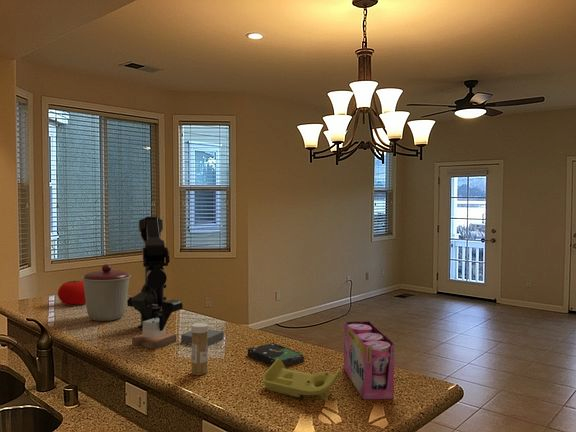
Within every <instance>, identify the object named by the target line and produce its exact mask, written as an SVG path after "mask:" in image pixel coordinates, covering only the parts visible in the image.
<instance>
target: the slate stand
mask: <svg viewBox="0 0 576 432" xmlns="http://www.w3.org/2000/svg"><path fill="white" fill-rule="evenodd" d="M224 332H225V331H222V330H216V329H215V330H214V329H209V328H208V333H207V344H208V347H209V346H212V345H214V344H215V343H217V342H220V341H222V340H224V335H225V334H224ZM180 335H181V336H180V342H181V343H183V342H185V343H184V344H188V343H190V344H189V345H192V332H191V330H190V331H187V332H185V333H183V334H180Z"/></svg>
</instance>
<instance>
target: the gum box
mask: <svg viewBox="0 0 576 432" xmlns="http://www.w3.org/2000/svg"><path fill="white" fill-rule="evenodd" d="M343 325H344V326H343V369H344V371H345V372H346V375H347V376H348V378H349V379H350V381H351V382H352V384H353V385H354V387H355V389H356V390H357V391H358V393H359V395H360V396H361V398H362V399H363V400H394V398H395V397H394V394H395V393H394V392H395V391H394V390H395V343H394V342H393V341H392V340H391V339H390V338H389V337H387V335H385V334H384V333H383V332H382V331H381V330H380V329H378V327H376V326H375V325H374V323H372V322H371V320H370V321H360V320H359V321H344V323H343Z"/></svg>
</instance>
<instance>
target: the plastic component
mask: <svg viewBox="0 0 576 432" xmlns="http://www.w3.org/2000/svg"><path fill="white" fill-rule="evenodd" d="M340 375H341V370H339V369H338V370H336V372H335V373H330V372H328V371H325V372H324V371H318V372H315V373H313V374H312V373H308V372H303V371H298V370H294V369H287V366H286V367H285V366H284V364H283V362H282V361H281V360H280V359H277V360H276V361H275V362H274V363H273V364H272V365H269V368H268V369H267V370H266V371H265V372H264V374H263V375H262V381H263V384H264V386H265V388H266V390H267V391H271V392H275V393H278V394H282V395H283V394H284V395H287V396H291V397H293V398H294V397H295V398H300V397H301V396H302V395H303V396H317V400H318V399H320V400H323V401H324V400H325V399H328V397H330V395H331V391H330V389H331V388H332V386H333V385H334V383H335V382H336V381H337V379H338V378H339V377H340Z"/></svg>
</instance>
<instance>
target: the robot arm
mask: <svg viewBox="0 0 576 432" xmlns="http://www.w3.org/2000/svg"><path fill="white" fill-rule="evenodd" d="M163 225H164V224H163V219H161V218H160V217H158V216H146V217H145V216H144V218H142V219H139V220H138V233H139V232H140V238H141V240H142V241H143V243H144V247H142V266H143V267H144V284H143V286H142V287H141V289H140V292H139V293H137V294H135V295H133V296H129V298H127V302H126V307H131V308H132V307H133V309H134V310H135V311H137V312H138V313H140V324H139V325H137V328H142V329H143V321H146V320H149V319H153V318H155V317H156V318H159V328H160V331H162V330H163V329H164V327H165V325H166V326H167V322H168V320H169V318H170V317H171V314H172V313H174V312H177V311H178V312H179V311H180V310H183V302H182V300H177V299H169V300H167V296H165V295H164V294H165V292H164V291H165V289H166V288H167V284H166V282H167V274H166V272H165V267H168V266H169V264H170V259H171V258H170V250H169V249H168V247H167V246H166V243H165V241H164V240H162V239H161V233H162V232H163V230H164V229H163V228H164V226H163Z"/></svg>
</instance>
